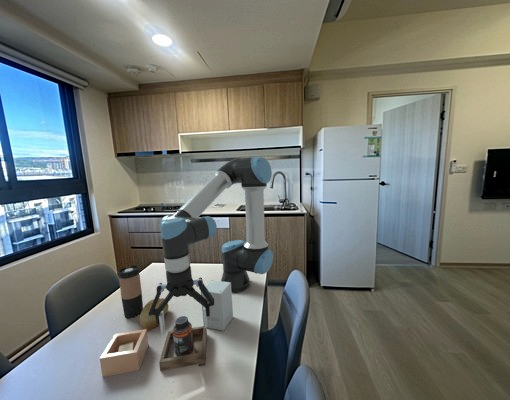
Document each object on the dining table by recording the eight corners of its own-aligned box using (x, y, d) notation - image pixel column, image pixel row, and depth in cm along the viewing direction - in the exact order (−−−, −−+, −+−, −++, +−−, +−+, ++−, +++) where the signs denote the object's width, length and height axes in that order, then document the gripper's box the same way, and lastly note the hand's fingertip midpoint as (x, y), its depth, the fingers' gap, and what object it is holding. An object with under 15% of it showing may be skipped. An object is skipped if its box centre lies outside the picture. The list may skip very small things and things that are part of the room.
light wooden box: (148, 347, 77) (146, 329, 76) (139, 372, 68) (136, 352, 67) (117, 352, 76) (114, 333, 75) (102, 379, 66) (99, 358, 65)
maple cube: (134, 352, 74) (133, 341, 74) (133, 361, 71) (132, 350, 70) (120, 357, 72) (119, 346, 72) (119, 366, 69) (117, 355, 68)
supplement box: (233, 316, 92) (231, 281, 90) (224, 331, 83) (221, 293, 82) (214, 312, 95) (212, 279, 93) (202, 326, 86) (199, 290, 84)
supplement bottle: (191, 341, 78) (188, 311, 77) (196, 352, 73) (193, 320, 72) (173, 349, 75) (170, 318, 74) (177, 361, 70) (174, 328, 69)
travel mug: (135, 319, 92) (129, 273, 90) (119, 318, 94) (113, 272, 91) (147, 308, 100) (142, 265, 97) (132, 307, 101) (127, 264, 99)
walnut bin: (206, 334, 82) (206, 325, 82) (205, 364, 69) (204, 354, 69) (169, 340, 80) (168, 331, 79) (160, 373, 67) (159, 362, 67)
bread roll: (173, 308, 100) (171, 291, 98) (161, 332, 85) (159, 312, 84) (151, 309, 99) (149, 292, 98) (135, 333, 84) (132, 314, 83)
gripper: (218, 258, 76) (222, 314, 80) (139, 267, 72) (148, 326, 76) (218, 267, 69) (223, 329, 72) (131, 278, 65) (141, 344, 68)
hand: (185, 328), depth 74 cm, fingers open, 13 cm apart
